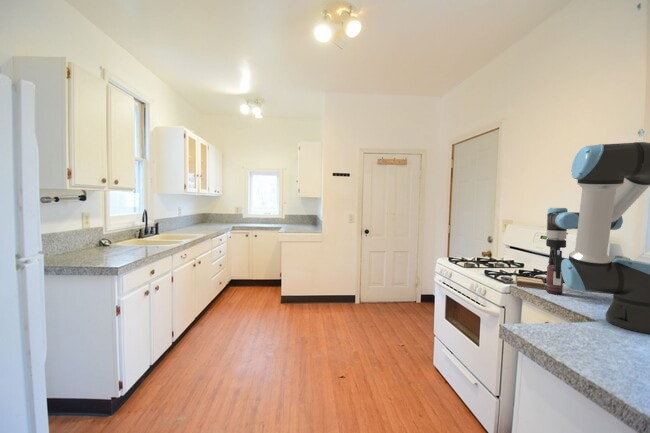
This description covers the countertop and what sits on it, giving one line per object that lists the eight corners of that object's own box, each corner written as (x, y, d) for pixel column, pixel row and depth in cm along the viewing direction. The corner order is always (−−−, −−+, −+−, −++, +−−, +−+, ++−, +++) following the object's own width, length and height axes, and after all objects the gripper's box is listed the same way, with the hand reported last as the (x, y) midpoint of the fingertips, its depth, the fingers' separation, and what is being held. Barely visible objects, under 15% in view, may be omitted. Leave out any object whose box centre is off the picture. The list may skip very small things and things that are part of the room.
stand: (545, 289, 143) (545, 284, 142) (516, 286, 149) (517, 280, 149) (541, 284, 153) (542, 279, 153) (515, 281, 159) (515, 276, 159)
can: (548, 294, 135) (549, 265, 135) (545, 290, 141) (546, 263, 141) (564, 296, 133) (565, 267, 132) (560, 292, 138) (561, 264, 138)
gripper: (572, 242, 123) (570, 289, 124) (561, 236, 145) (559, 277, 146) (550, 241, 127) (548, 286, 128) (542, 236, 149) (541, 275, 149)
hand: (554, 281), depth 137 cm, fingers open, 13 cm apart
